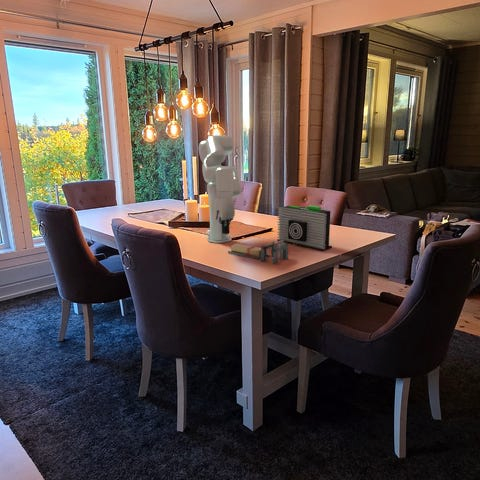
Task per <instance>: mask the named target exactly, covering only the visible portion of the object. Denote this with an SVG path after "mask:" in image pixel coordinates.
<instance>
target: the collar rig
mask: <svg viewBox="0 0 480 480" xmlns="http://www.w3.org/2000/svg"><path fill="white" fill-rule="evenodd" d="M277 245H279V246H277ZM260 248H261V260H260V262H262V263H265V262H267V260H268V259H267V258H268V257H267V252H268V251H267V250H268V249H270V248H271V250H270V251H271V252H270V253H271V254H270V258H272V265H278V264H279V258H280V259H282V260H284V261H287V260H288V259H289V244H288V243H284V242H283V240H280V241H272V242H270V243H267V244H265V245H262V246H261V247H260Z"/></svg>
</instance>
